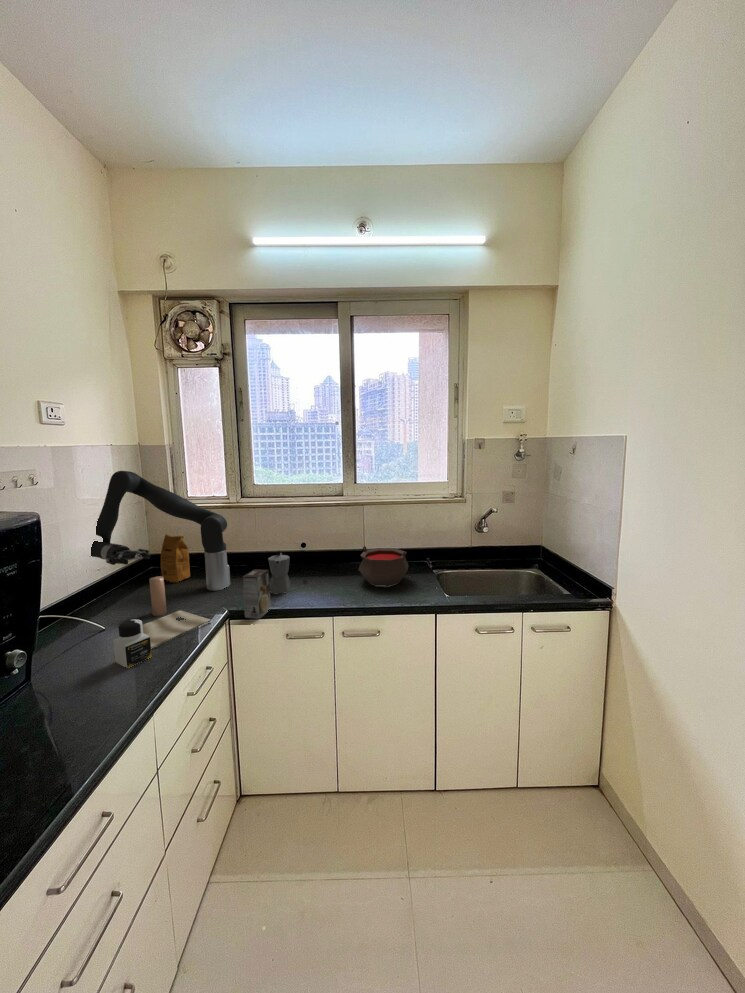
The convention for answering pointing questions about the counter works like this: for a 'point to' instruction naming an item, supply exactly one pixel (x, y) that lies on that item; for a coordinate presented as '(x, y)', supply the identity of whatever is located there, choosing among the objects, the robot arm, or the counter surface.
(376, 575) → the brown cooking pot
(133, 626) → the medicine bottle
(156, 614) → the terracotta canister
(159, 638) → the ash board
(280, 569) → the coffeepot
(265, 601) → the coffee box
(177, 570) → the coffee package
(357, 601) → the counter surface
